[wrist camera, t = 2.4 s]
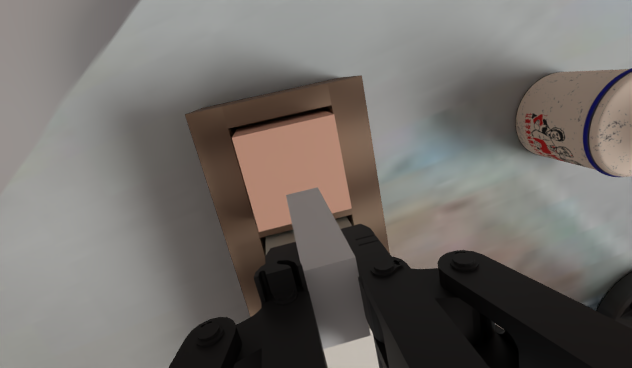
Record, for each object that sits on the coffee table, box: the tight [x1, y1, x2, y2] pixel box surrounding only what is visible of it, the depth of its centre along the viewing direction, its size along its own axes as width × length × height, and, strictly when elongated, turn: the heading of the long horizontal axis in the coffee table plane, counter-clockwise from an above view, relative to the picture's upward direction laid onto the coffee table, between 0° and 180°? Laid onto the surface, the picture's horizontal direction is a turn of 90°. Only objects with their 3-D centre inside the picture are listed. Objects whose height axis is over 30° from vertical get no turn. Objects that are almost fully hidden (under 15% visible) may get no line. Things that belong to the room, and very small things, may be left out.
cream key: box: [323, 324, 379, 368], centre depth 31 cm, size 7×7×5 cm
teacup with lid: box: [516, 69, 632, 177], centre depth 31 cm, size 12×9×12 cm
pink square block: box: [232, 109, 352, 232], centre depth 26 cm, size 7×7×5 cm
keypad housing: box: [185, 76, 390, 368], centre depth 32 cm, size 29×13×7 cm, turn 13°
